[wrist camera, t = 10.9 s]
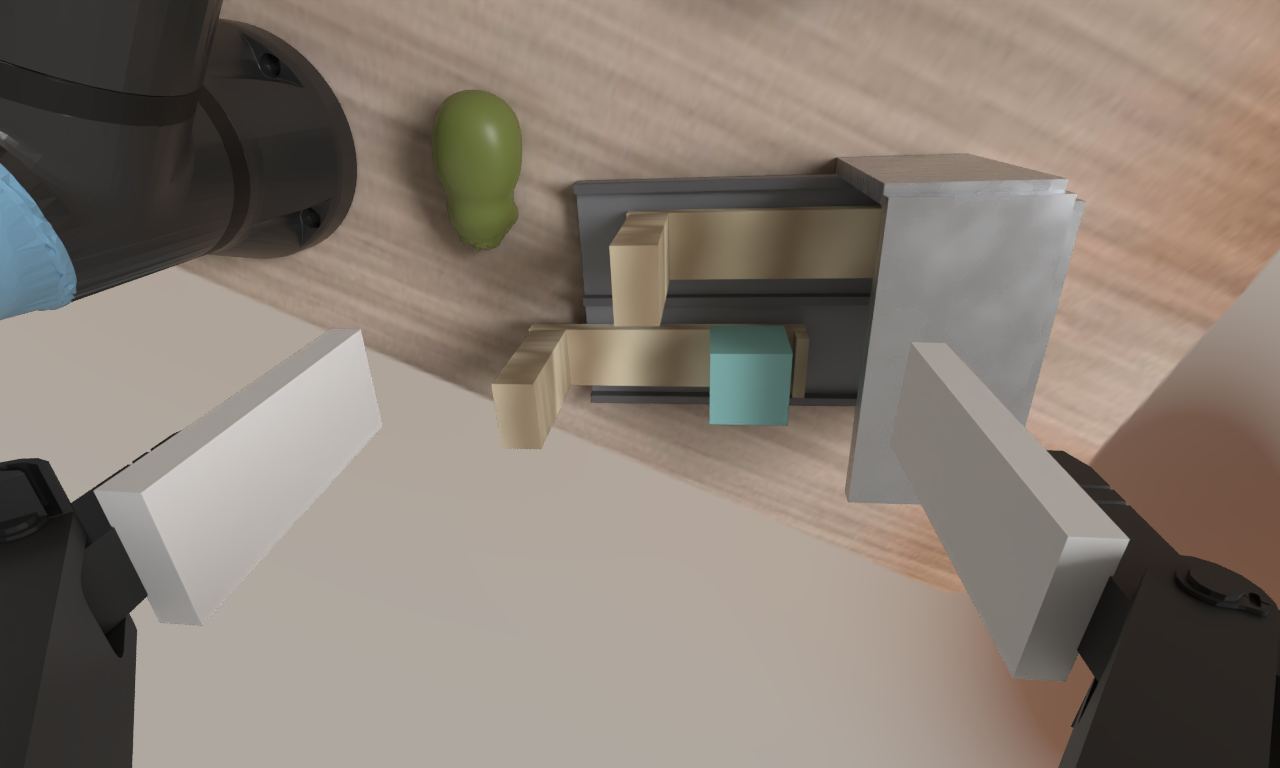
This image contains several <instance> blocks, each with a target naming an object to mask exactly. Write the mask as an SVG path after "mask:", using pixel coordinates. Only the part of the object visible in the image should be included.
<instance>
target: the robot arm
mask: <svg viewBox="0 0 1280 768" xmlns="http://www.w3.org/2000/svg"><path fill="white" fill-rule="evenodd" d="M222 2H223V0H0V320H2V319H6V318H10V317H13V316H17V315H21V314H25V313H28V312H32V311H36V310H39V311H44V310H54V309H58V308H61V307H63V306H66V305H67V304H69V303H70V302H73V301H76V300H78V299H81V298H84V297H87V296H90V295H93V294H96V293H98V292H101V291H104V290H107V289H110V288H113V287H115V286H118V285H121V284H124V283H127V282H129V281H133V280H135V279H138V278H141V277H144V276H147V275H150V274H152V273H155V272H158V271H161V270H164V269H167V268H169V267H172V266H175V265H178V264H181V263H184V262H187V261H189V260H192V259H195V258H197V257H200V256H203V255H207V254H209V255H221V256H233V257H245V258H257V259H267V258H277V257H283V256H288V255H291V254H294V253H297V252H299V251H302V250H305V249H307V248H310V247H312V246H314V245H316V244H318V243H320V242H322V241H323V240H325V239H326V238H328V237H329V236H330V235H331V234H332V233H333V232H334V231H335V230H336V229H337V228H338V227H339V225H340V224H341V223H342V221H343V220H344V218H345V216H346V215H347V213H348V211H349V208H350V206H351V203H352V200H353V197H354V193H355V187H356V179H357V161H356V152H355V146H354V141H353V137H352V133H351V130H350V127H349V124H348V121H347V119H346V116H345V114H344V112H343V110H342V107H341V105H340V103H339V102H338V100H337V98H336V96H335V94H334V93H333V91H332V90H331V88H330V87H329V85H328V84H327V82H326V81H325V80H324V78H323V77H322V76H321V74H320V73H319V72H318V71H317V70H316V69H315V67H314V66H313V65H312V64H311V63H310V62H309V61H308V60H307V59H306V58H305V57H304V56H303V55H302V54H300V53H299V52H298V51H297V50H296V49H294V48H293V47H292V46H291V45H289V44H288V43H286V42H285V41H283V40H282V39H280V38H279V37H277V36H275V35H274V34H272V33H270V32H268V31H266V30H263V29H261V28H259V27H256V26H253V25H250V24H247V23H243V22H238V21H232V20H225V19H219V15H220V11H221V6H222ZM382 426H383V425H382V421H381V416H380V412H379V408H378V403H377V399H376V395H375V390H374V386H373V381H372V378H371V373H370V369H369V364H368V360H367V355H366V351H365V347H364V342H363V338H362V334H361V329H330V330H328V331H327V332H325V333H324V334H322V335H321V336H319V337H318V338H317V339H315V340H314V341H312V342H311V343H309V344H308V345H306V346H305V347H303V348H302V349H300V350H299V351H297V352H296V353H295V354H293V355H292V356H290V357H289V358H287V359H286V360H284V361H283V362H281V363H280V364H278V365H277V366H275V367H274V368H273V369H271V370H270V371H268V372H267V373H265V374H264V375H262V376H261V377H259V378H258V379H256V380H255V381H254V382H252V383H251V384H249V385H248V386H246V387H245V388H243V389H242V390H240V391H239V392H237V393H236V394H234V395H233V396H231V397H230V398H229V399H227V400H226V401H224V402H223V403H221V404H220V405H218V406H217V407H215V408H214V409H212V410H211V411H210V412H208V413H207V414H205V415H204V416H202V417H201V418H199V419H198V420H196V421H195V422H193V423H192V424H190V425H189V426H188V427H186V428H185V429H183V430H181V431H179V432H176V433H174V434H172V435H171V436H169V437H168V438H167V439H165V440H163V441H162V442H160V443H159V444H158V445H156V446H155V447H153V448H152V449H151V452H146V453H144V454H143V455H141V456H140V457H139V458H137V459H136V460H134V461H133V463H132V465H127V466H125V467H124V468H122V469H121V470H119V471H118V472H116V473H115V474H113V475H112V476H110V477H109V478H107V479H106V480H105V481H103V482H101V483H100V484H98V485H97V486H96V487H94V488H93V489H91V490H90V491H88V492H87V493H85V494H84V495H82V496H81V497H79V498H78V499H76V500H75V501H73V502H72V503H70V501H69V499H68V497H67V495H66V493H65V492H64V490H63V488H62V486H61V484H60V482H59V480H58V478H57V476H56V475H55V473H54V471H53V469H52V467H51V465H50V463H49V461H45V460H42V459H39V458H34V459H33V458H30V459H17V460H12V461H6V462H1V463H0V768H132V755H133V724H134V699H135V698H134V697H135V670H136V643H137V629H136V627H135V624H134V622H133V620H132V618H131V616H130V614H129V613H130V612H131V611H132V610H133V609H134V608H135V607H136V606H137V605H138V604H139V603H141V601H142V600H144V598H146V597H147V598H148V600H149V602H150V604H151V606H152V608H153V610H154V612H155V614H156V616H157V618H158V620H159V622H160V623H170V624H185V625H200V626H202V625H203V624H204V623H205V622H206V621H207V620H208V618H210V617H211V615H212V614H213V613H214V612H215V611H216V610H217V609H218V608H219V607H220V605H221V604H222V603H223V602H224V601H225V600H226V599H227V598H228V597H229V595H230V594H231V593H232V592H233V591H234V590H235V589H236V588H237V587H238V586H239V584H240V583H241V582H242V581H243V580H244V579H245V578H246V577H247V576H248V575H249V573H250V572H251V571H252V570H253V569H254V568H255V567H256V566H257V564H258V563H259V562H260V561H261V560H262V559H263V558H264V557H265V556H266V554H268V552H269V551H270V550H271V549H272V548H273V547H274V546H275V544H277V542H278V541H279V540H280V539H281V538H282V537H283V536H284V535H285V534H286V532H287V531H288V530H289V529H290V528H291V527H292V526H293V525H294V524H295V523H296V521H297V520H298V519H299V518H300V517H301V516H302V515H303V514H304V513H305V512H306V510H307V509H308V508H309V507H310V506H311V505H312V504H313V503H314V502H315V500H316V499H317V498H318V497H319V496H320V495H321V494H322V493H323V492H324V491H325V489H326V488H327V487H328V486H329V485H330V484H331V483H332V482H333V481H334V479H335V478H336V477H337V476H338V475H339V474H340V473H341V472H342V470H344V468H345V467H346V466H347V465H348V464H349V463H350V462H351V461H352V460H353V459H354V457H355V456H356V455H357V454H358V453H359V452H360V451H361V450H362V448H363V447H364V446H365V445H366V444H367V443H368V442H369V441H370V440H371V439H372V437H373V436H374V435H375V434H376V433H377V432H378V431H379V430H380V429H381V428H382ZM890 446H891V448H892V449H893V451H894V453H895V455H896V457H897V459H898V461H899V463H900V465H901V467H902V468H903V470H904V472H905V474H906V476H907V478H908V480H909V482H910V484H911V486H912V487H913V489H914V491H915V493H916V495H917V497H918V499H919V501H920V503H921V505H922V507H923V508H924V510H925V512H926V514H927V516H928V518H929V520H930V522H931V524H932V526H933V527H934V529H935V531H936V533H937V535H938V537H939V539H940V541H941V543H942V545H943V546H944V548H945V550H946V552H947V554H948V556H949V558H950V560H951V562H952V564H953V565H954V567H955V569H956V571H957V573H958V575H959V577H960V579H961V581H962V583H963V584H964V586H965V588H966V590H967V592H968V594H969V596H970V598H971V600H972V602H973V603H974V605H975V607H976V609H977V611H978V613H979V615H980V617H981V618H982V620H983V622H984V624H985V626H986V628H987V630H988V632H989V634H990V636H991V637H992V639H993V641H994V643H995V645H996V647H997V649H998V651H999V653H1000V655H1001V657H1002V659H1003V660H1004V662H1005V664H1006V666H1007V668H1008V670H1009V672H1010V674H1011V676H1012V677H1013V678H1017V679H1018V678H1019V679H1034V680H1048V681H1063V682H1066V680H1067V678H1068V676H1069V673H1070V671H1071V669H1072V667H1073V664H1074V662H1075V660H1076V658H1077V656H1078V653H1079V654H1080V655H1081V657H1082V658H1083V660H1084V661H1085V663H1086V664H1087V666H1088V667H1089V669H1090V670H1091V672H1092V673H1093V675H1094V676H1095V677H1094V679H1093V682H1092V684H1091V686H1090V688H1089V690H1088V692H1087V694H1086V696H1085V698H1084V700H1083V703H1082V704H1081V707H1080V709H1079V711H1078V713H1077V715H1076V717H1075V719H1074V721H1073V724H1072V725H1071V727H1073V731H1072V733H1071V736H1070V739H1069V741H1068V744H1067V746H1066V749H1065V752H1064V754H1063V757H1062V759H1061V762H1060V765H1059V767H1058V768H1280V610H1278V608H1277V605H1276V603H1275V602H1274V601H1273V600H1272V599H1271V598H1270V597H1269V596H1268V595H1267V594H1266V593H1265V592H1264V591H1263V590H1262V589H1261V588H1260V587H1258V586H1256V585H1255V584H1253V583H1252V582H1251V581H1249V580H1248V579H1246V578H1245V577H1243V576H1242V575H1240V574H1238V573H1235V572H1233V571H1231V570H1229V569H1227V568H1225V567H1223V566H1220V565H1218V564H1216V563H1212V562H1209V561H1206V560H1202V559H1199V558H1196V557H1191V556H1182V555H1179V554H1178V553H1177V552H1176V551H1175V550H1174V549H1173V548H1172V547H1171V546H1170V545H1169V544H1168V543H1167V542H1166V541H1165V540H1164V539H1163V538H1162V537H1161V536H1160V535H1159V534H1158V533H1157V532H1156V531H1155V530H1154V529H1153V528H1152V527H1151V526H1150V525H1149V524H1148V523H1147V522H1146V521H1145V520H1144V519H1143V518H1142V517H1141V516H1140V515H1139V514H1138V513H1137V512H1136V511H1135V510H1134V509H1133V508H1132V507H1131V506H1127V505H1126V504H1125V503H1126V501H1125V500H1124V499H1123V498H1122V497H1121V496H1120V495H1119V494H1117V492H1116V491H1115V490H1110V486H1109V485H1108V484H1107V483H1106V482H1105V481H1104V480H1103V479H1102V478H1101V477H1100V476H1099V475H1098V474H1097V473H1096V472H1095V471H1094V470H1093V469H1092V468H1091V467H1090V466H1088V465H1086V464H1085V463H1083V462H1081V461H1079V460H1078V459H1076V458H1074V457H1073V456H1071V455H1069V454H1067V453H1066V452H1064V451H1052V450H1045V448H1044V447H1043V446H1042V445H1041V444H1040V443H1039V442H1038V441H1037V440H1036V439H1035V438H1034V437H1033V436H1032V435H1031V434H1030V432H1029V431H1028V430H1027V429H1026V428H1025V427H1024V426H1023V425H1022V424H1021V423H1020V422H1019V421H1018V420H1017V419H1016V418H1015V416H1014V415H1013V414H1012V413H1011V412H1010V411H1009V410H1008V409H1007V408H1006V407H1005V406H1004V405H1003V404H1002V403H1001V402H1000V400H999V399H998V398H997V397H996V396H995V395H994V394H993V393H992V392H991V391H990V390H989V389H988V388H987V387H986V386H985V385H984V383H983V382H982V381H981V380H980V379H979V378H978V377H977V376H976V375H975V374H974V373H973V372H972V371H971V370H970V369H969V367H968V366H967V365H966V364H965V363H964V362H963V361H962V360H961V359H960V358H959V357H958V356H957V355H956V354H955V353H954V351H953V350H952V349H951V348H950V347H949V346H948V345H947V344H946V343H920V342H911V345H910V349H909V354H908V359H907V364H906V369H905V374H904V379H903V383H902V388H901V393H900V398H899V403H898V408H897V413H896V418H895V422H894V427H893V432H892V437H891V442H890Z"/></svg>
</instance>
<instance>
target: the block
mask: <svg viewBox="0 0 1280 768" xmlns="http://www.w3.org/2000/svg"><path fill="white" fill-rule="evenodd" d="M792 357H793V354H792V350H791V347H790V344H789V341H788V337H787V334H786V331H785V328H784V326H710V414H709V424H725V425H781V426H787V423H788V410H789V397H790V383H791V370H792Z"/></svg>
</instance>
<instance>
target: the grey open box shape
mask: <svg viewBox="0 0 1280 768" xmlns="http://www.w3.org/2000/svg"><path fill="white" fill-rule="evenodd" d="M836 174H837V175H838V176H840V177H841V178H843V179H844V180H845V181H847V182H848V183H850V184H851V185H853V186H854V187H856V188H857V189H859V190H860V191H861V192H863V193H864V194H866V195H867V196H869V197H870V198H872V199H873V200H875V201H876V202H878V203H879V204H880V205H882V209H881V217H880V224H879V232H878V240H877V247H876V255H875V263H874V271H873V278H872V286H871V294H870V301H869V309H868V317H867V325H866V332H865V340H864V348H863V355H862V363H861V371H860V379H859V386H858V394H857V402H856V409H855V417H854V425H853V433H852V440H851V448H850V456H849V463H848V471H847V479H846V487H845V494H846V497H847V500H848V502H856V503H888V504H920V505H921V503H920V501H919V499H918V497H917V495H916V493H915V491H914V489H913V487H912V486H911V484H910V482H909V480H908V478H907V476H906V474H905V472H904V470H903V468H902V467H901V465H900V463H899V461H898V459H897V457H896V455H895V453H894V451H893V449H892V448H891V446H890V442H891V437H892V432H893V427H894V422H895V418H896V413H897V408H898V403H899V398H900V393H901V388H902V383H903V379H904V374H905V369H906V364H907V359H908V354H909V349H910V345H911V342H920V343H946V344H947V345H948V346H949V347H950V348H951V349H952V350H953V351H954V353H955V354H956V355H957V356H958V357H959V358H960V359H961V360H962V361H963V362H964V363H965V364H966V365H967V366H968V367H969V369H970V370H971V371H972V372H973V373H974V374H975V375H976V376H977V377H978V378H979V379H980V380H981V381H982V382H983V383H984V385H985V386H986V387H987V388H988V389H989V390H990V391H991V392H992V393H993V394H994V395H995V396H996V397H997V398H998V399H999V400H1000V402H1001V403H1002V404H1003V405H1004V406H1005V407H1006V408H1007V409H1008V410H1009V411H1010V412H1011V413H1012V414H1013V415H1014V416H1015V418H1016V419H1017V420H1018V421H1019V422H1020V423H1021V424H1022V425H1023V426H1024V427H1025V425H1026V421H1027V417H1028V414H1029V410H1030V406H1031V402H1032V399H1033V395H1034V391H1035V388H1036V384H1037V380H1038V377H1039V373H1040V369H1041V365H1042V362H1043V358H1044V354H1045V351H1046V347H1047V343H1048V339H1049V336H1050V332H1051V328H1052V325H1053V321H1054V317H1055V314H1056V310H1057V306H1058V302H1059V299H1060V295H1061V291H1062V288H1063V284H1064V280H1065V276H1066V273H1067V269H1068V265H1069V262H1070V258H1071V254H1072V251H1073V247H1074V243H1075V239H1076V236H1077V232H1078V228H1079V225H1080V221H1081V217H1082V213H1083V210H1084V206H1085V202H1086V201H1083V200H1080V199H1077V198H1076V196H1077V194H1076V193H1073V192H1069V191H1066V186H1067V182H1068V179H1066V178H1062V177H1059V176H1055V175H1051V174H1047V173H1043V172H1039V171H1035V170H1031V169H1027V168H1023V167H1019V166H1015V165H1011V164H1007V163H1003V162H999V161H995V160H991V159H988V158H984V157H980V156H976V155H972V154H938V155H904V156H871V157H837V165H836Z"/></svg>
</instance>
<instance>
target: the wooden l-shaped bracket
mask: <svg viewBox="0 0 1280 768" xmlns="http://www.w3.org/2000/svg"><path fill="white" fill-rule="evenodd" d="M710 326H784V328H785V331H786V334H787V337H788V341H789V344H790V347H791V350H792V354H793V357H792V370H791V383H790V390H791V394H792V398H804V395H805V383H806V372H807V361H808V349H809V336H808V334H807V331H806V328H805V326H804V324H660V326H614V324H532V326H531V327H530V328H529V334H528V335H527V337H526V338H525V340H524V341H523V342H522V344H521V345H520V346H519V348H518V349H517V350H516V352H515V353H514V354H513V356H512V357H511V358H510V360H509V361H508V362H507V364H506V365H505V366H504V368H503V369H502V370H501V372H500V373H499V374H498V376H497V377H496V378H495V380H494V381H493V383H492V384H491V385H492V391H493V398H494V404H495V410H496V416H497V422H498V428H499V434H500V441H501V447H502V448H513V449H514V448H515V449H516V448H517V449H518V448H519V449H541V448H542V446H543V444H544V442H545V440H546V437H547V436H548V433H549V431H550V429H551V427H552V425H553V423H554V421H555V419H556V417H557V414H558V412H559V410H560V408H561V406H562V404H563V402H564V400H565V397H566V395H567V393H568V391H569V389H570V387H571V385H603V386H693V387H710Z"/></svg>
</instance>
